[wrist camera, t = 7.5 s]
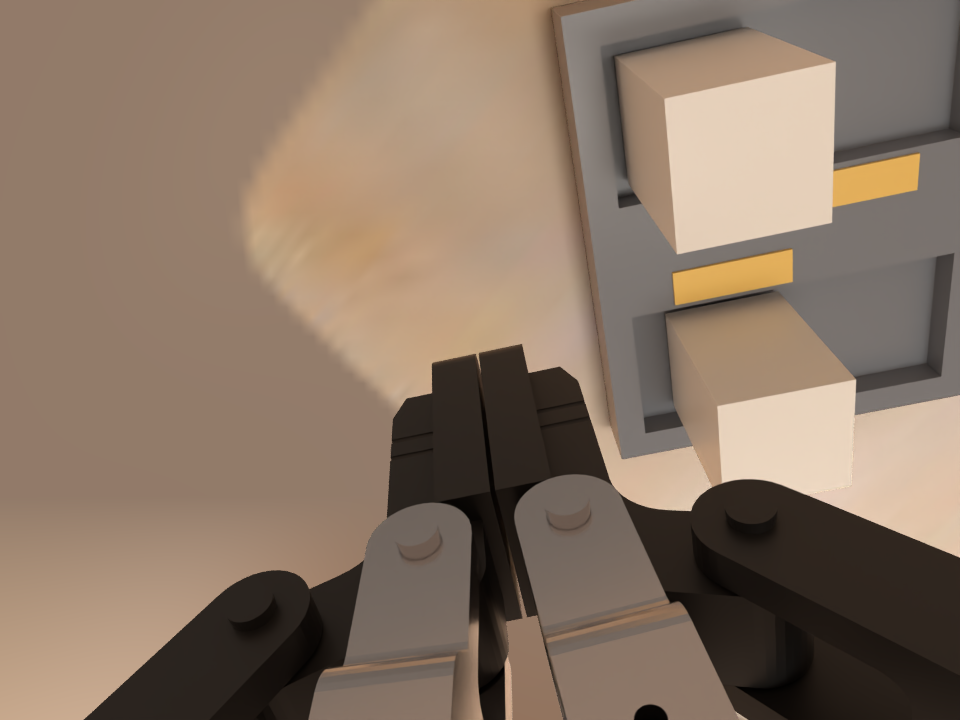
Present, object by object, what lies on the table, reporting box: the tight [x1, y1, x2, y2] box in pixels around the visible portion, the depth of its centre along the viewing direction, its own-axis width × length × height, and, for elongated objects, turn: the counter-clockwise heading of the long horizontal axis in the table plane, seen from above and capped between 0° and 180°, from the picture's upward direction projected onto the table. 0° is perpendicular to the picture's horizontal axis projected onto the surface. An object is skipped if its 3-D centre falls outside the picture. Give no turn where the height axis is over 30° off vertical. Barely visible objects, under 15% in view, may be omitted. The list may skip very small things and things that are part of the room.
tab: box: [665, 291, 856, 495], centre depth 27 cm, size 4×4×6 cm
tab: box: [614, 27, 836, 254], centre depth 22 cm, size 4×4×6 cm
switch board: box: [551, 0, 960, 459], centre depth 27 cm, size 13×16×2 cm
